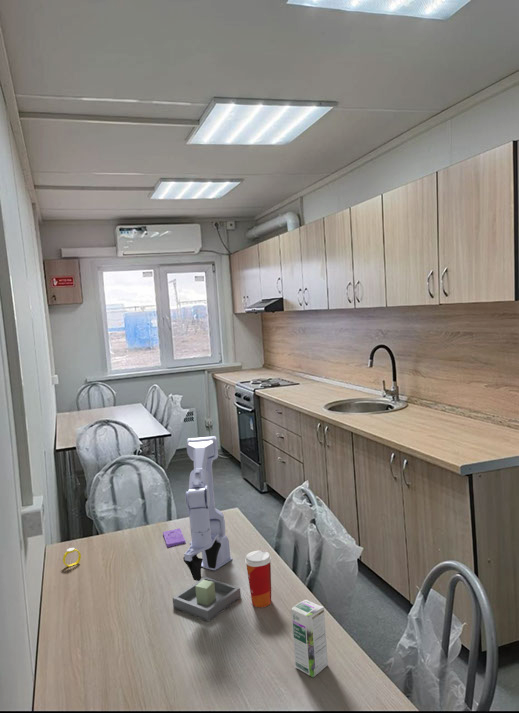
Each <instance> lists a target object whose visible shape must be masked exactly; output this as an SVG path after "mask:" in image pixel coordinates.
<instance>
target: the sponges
mask: <svg viewBox="0 0 519 713" xmlns="http://www.w3.org/2000/svg"><path fill="white" fill-rule="evenodd" d="M162 535H163V538H164V542H165V545H166V547H167V548H171V546H172V547H176V546H179V545H178V544H181V545H184V544H183V543H185V544H186V543H187V542H186V539H185V537H184V534H183V533H182V529H181V527H180V528H175V529H171V530H165V531H162ZM175 545H176V546H175Z"/></svg>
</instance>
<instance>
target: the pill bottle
mask: <svg viewBox="0 0 519 713" xmlns="http://www.w3.org/2000/svg"><path fill="white" fill-rule="evenodd" d="M271 562H272V556H271V555H270V553H269V552H268V551H264V550H254V551H253V550H252V551H251V552H249V553H247V554H246V556H245V559H244V563H245V565H246V570H247V577H248V585H249V591H250V592H249V593H250V598H251V603H252V606H254V607H255V608H260V609H261V608H266V607H268V606H270V605H271V603H272V572H271V571H272V570H271V569H272V566H271Z"/></svg>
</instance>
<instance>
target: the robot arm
mask: <svg viewBox="0 0 519 713" xmlns="http://www.w3.org/2000/svg"><path fill="white" fill-rule="evenodd" d="M186 453H187V455H188V457H189V459H190V460H191V461H193V470H191V472H190V473H189V479H188V480H189V481H188V490H186V491H185V499H184V500H185V506H186V509H187V516H188V517H189V526H190V536H191V541H190V542H189V543H188V544H189V547H188V548H187V550H186V552H184V554H183V558H182V559H183V562H184V563H185V565H186V566H187V568H188V569H189V572H190V574H191V576H192V579H193V581H196V582H198V581H200V580H201V579H202V568H204V569H207V570H210V571H213V572H214V571H216V570H218V569H220V568H221V567H223V566H224V565H226V564H227V563H229V562H230V561H232V560H233V557H231V549H230V540H229V537H228V536H227V535H226V521H225V520H226V519H225V514H224V513H223V512H222V511H221V510H219V509H217V508H216V504H215V488H214V476H213V463H214V460H217V459H218V456H219V446H218V437H217V436H216V435H213V436H203V437H202V436H200V437H188V438H187V439H186ZM200 553H201V557H202V558H200V557H199V556H198V554H200Z"/></svg>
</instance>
